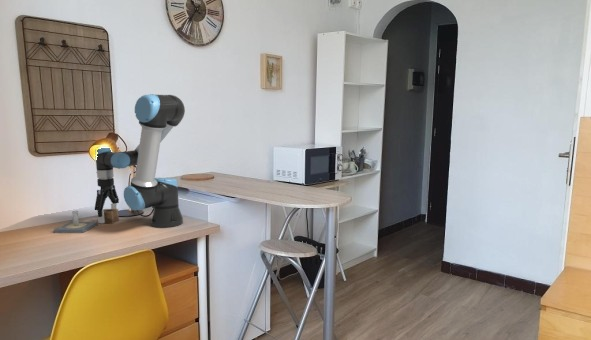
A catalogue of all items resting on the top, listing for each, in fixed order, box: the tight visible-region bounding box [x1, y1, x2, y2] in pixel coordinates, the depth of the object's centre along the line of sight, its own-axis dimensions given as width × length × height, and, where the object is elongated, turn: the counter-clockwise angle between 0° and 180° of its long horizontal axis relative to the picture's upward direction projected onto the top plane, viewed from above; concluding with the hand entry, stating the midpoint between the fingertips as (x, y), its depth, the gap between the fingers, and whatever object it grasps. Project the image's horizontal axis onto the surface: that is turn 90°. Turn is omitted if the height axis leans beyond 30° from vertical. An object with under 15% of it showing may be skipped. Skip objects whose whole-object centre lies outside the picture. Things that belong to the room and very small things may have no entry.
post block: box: [53, 210, 99, 234], centre depth 207 cm, size 14×14×8 cm
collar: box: [98, 208, 120, 225], centre depth 218 cm, size 7×7×6 cm
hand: (108, 219), depth 219 cm, fingers open, 13 cm apart
